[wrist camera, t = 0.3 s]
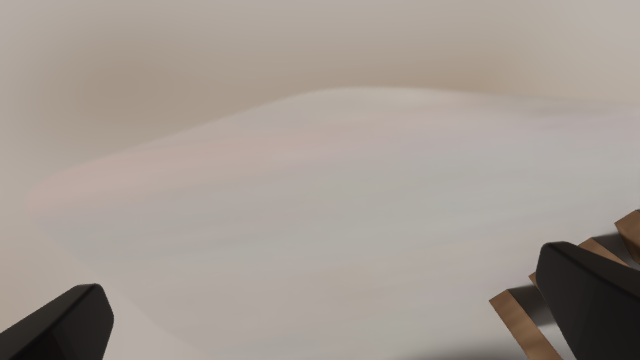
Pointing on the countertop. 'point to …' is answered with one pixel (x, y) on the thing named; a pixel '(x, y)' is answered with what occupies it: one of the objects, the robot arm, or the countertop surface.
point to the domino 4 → (631, 233)
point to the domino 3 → (600, 250)
